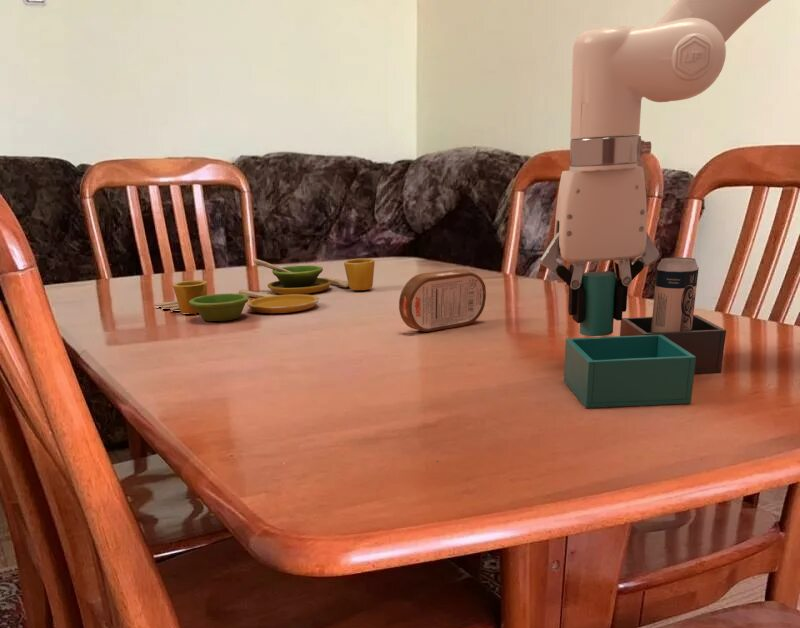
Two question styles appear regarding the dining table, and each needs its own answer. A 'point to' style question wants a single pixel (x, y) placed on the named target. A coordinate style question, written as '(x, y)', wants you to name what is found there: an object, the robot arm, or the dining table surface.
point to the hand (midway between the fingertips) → (596, 318)
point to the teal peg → (598, 303)
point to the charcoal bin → (687, 340)
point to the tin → (442, 300)
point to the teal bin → (628, 371)
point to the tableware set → (290, 282)
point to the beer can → (674, 295)
